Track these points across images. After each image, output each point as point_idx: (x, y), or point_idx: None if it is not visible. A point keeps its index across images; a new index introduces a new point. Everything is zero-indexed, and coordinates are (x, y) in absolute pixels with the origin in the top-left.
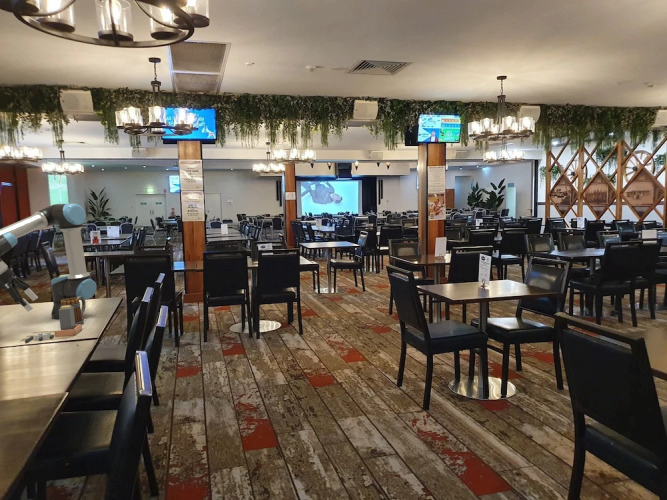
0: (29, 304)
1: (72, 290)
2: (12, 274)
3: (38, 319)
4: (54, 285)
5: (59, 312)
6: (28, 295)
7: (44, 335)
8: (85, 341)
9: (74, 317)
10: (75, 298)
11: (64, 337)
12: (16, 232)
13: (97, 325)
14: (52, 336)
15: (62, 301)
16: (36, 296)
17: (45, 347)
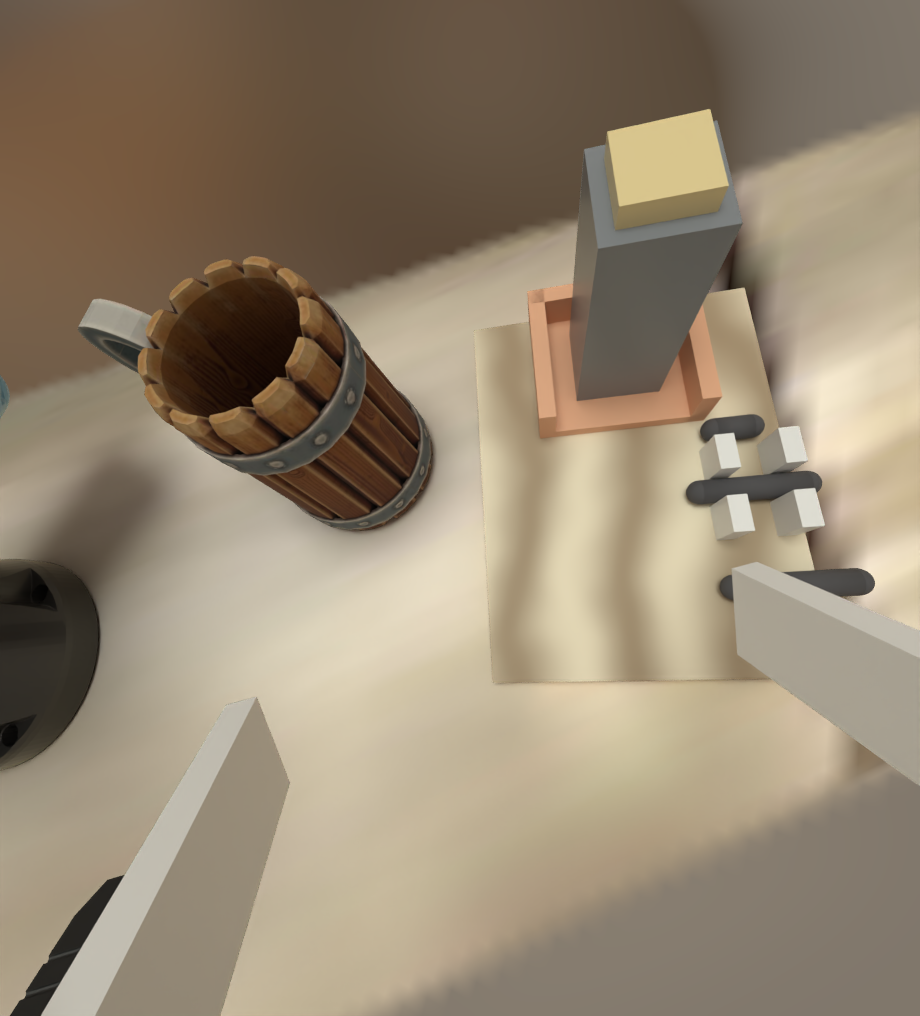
0: (839, 606)
1: None
2: None
3: (19, 868)
4: None
5: (726, 246)
6: (235, 933)
7: (801, 445)
8: (768, 210)
9: (576, 256)
10: (172, 315)
11: (718, 348)
12: None
13: (375, 318)
14: (743, 415)
15: (287, 386)
16: (242, 724)
17: (910, 401)
